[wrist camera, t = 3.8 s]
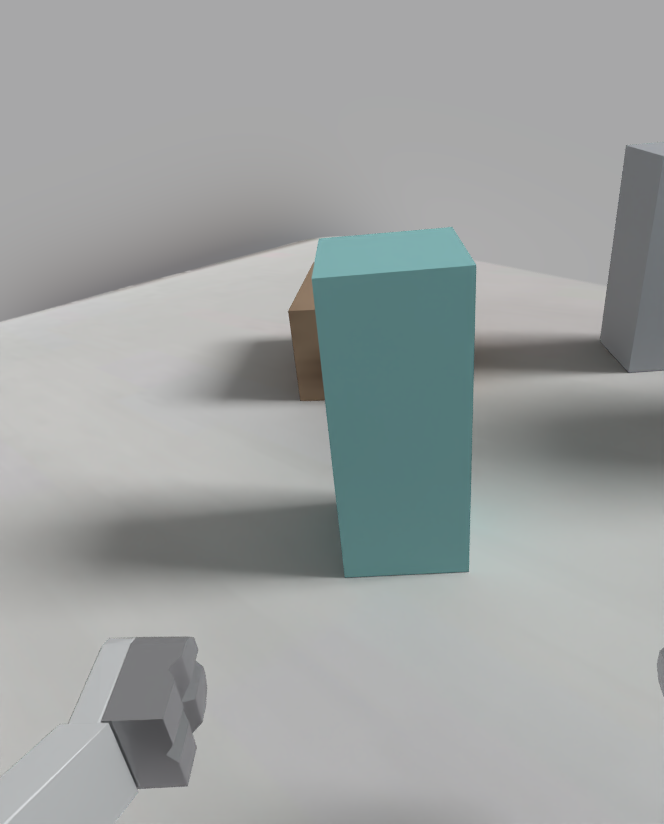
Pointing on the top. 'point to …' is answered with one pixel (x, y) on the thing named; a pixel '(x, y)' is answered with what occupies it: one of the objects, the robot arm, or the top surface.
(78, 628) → the top surface
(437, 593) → the top surface
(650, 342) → the grey block
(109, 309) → the top surface
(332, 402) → the teal block
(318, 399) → the base block
